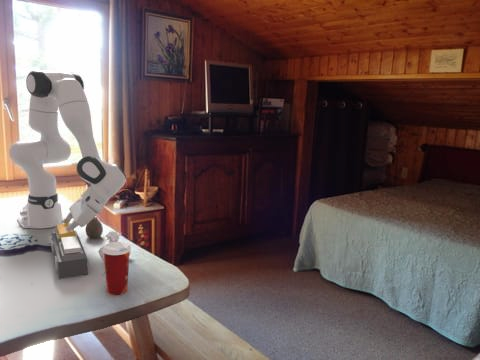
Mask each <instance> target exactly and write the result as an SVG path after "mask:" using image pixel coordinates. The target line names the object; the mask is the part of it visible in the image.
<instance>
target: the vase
mask: <svg viewBox="0 0 480 360" xmlns="http://www.w3.org/2000/svg"><path fill="white" fill-rule="evenodd" d="M103 232H104V229H103V224H102V223H101V221H100V220H99V218H98V217H96V216H95V217H94V218H93V219H92V220H91V221H90V222H89V223H88V224H86V225H85V234H86V236H87V238H89V239H90V240H96V239H99V238H101V237H102V234H103Z"/></svg>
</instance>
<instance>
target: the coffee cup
mask: <svg viewBox="0 0 480 360" xmlns="http://www.w3.org/2000/svg"><path fill="white" fill-rule="evenodd" d="M120 242H121V243H120ZM104 245H105V246H104ZM104 245H103V246H104V249H103V253H104V260H105V262H104V269H105V284H106V292H107V294H109V295H111V296H120V295H124V294H125V293H127V290H128V281H129V279H128V278H129V265H130V263H129V262H130V255H129V252H130V250H131V251H132V248H131V249H130V247H129V245H130V244H129V243H128V242H125V241H118V242H112V243H109V242H108V243H107V244H104ZM130 253H131V252H130Z"/></svg>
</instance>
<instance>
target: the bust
mask: <svg viewBox="0 0 480 360" xmlns="http://www.w3.org/2000/svg"><path fill="white" fill-rule="evenodd" d="M121 236H122V232H118V231H114V230H113V231H112V230H111V231H108V233H107V234H106V235H105V238H107V239H106V240H107V241H108V243H112V242H120V243H121V242H122V241H119V240H120V237H121ZM105 245H106V244H104V245H103V246H101V247H100V248H99V249H98V253H99V254H98V255H99V256H100V259H101V261H102V262H104V263H105V260H104V253H103V249H104V246H105ZM129 247H130V249H131V250H130V252H129V256H130V255H131V251H132V247H131V244H129Z"/></svg>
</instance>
